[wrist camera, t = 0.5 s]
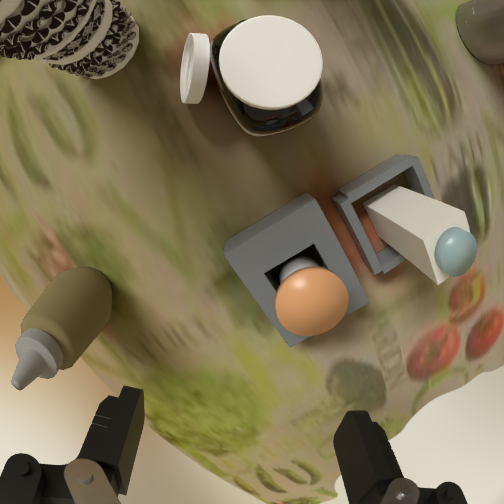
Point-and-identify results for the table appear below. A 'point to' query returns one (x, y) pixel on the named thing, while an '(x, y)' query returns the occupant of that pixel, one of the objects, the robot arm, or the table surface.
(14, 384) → the squeeze bottle
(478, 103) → the table surface
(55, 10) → the decorative candle
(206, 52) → the spread jar
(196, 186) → the table surface
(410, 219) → the square rod with knob
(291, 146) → the table surface
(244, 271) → the socket blocks
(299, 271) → the tan mushroom peg
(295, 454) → the table surface
